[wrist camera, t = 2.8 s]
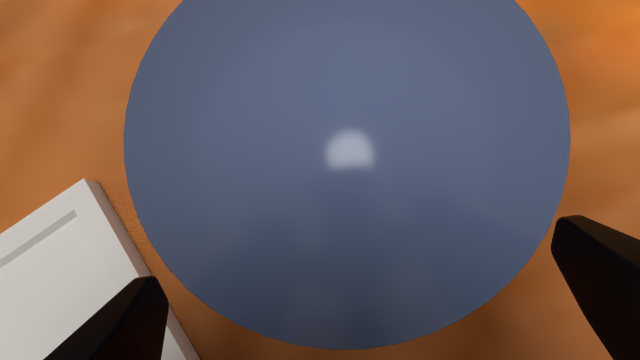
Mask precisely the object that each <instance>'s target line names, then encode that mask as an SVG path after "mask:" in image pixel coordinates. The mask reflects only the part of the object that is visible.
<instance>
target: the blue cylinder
mask: <svg viewBox="0 0 640 360" xmlns="http://www.w3.org/2000/svg"><path fill="white" fill-rule="evenodd" d="M570 143H571V142H570V122H569V111H568V106H567V101H566V96H565V91H564V86H563V83H562V80H561V77H560V74H559V72H558V69H557V66H556V63H555V60H554V58H553V56H552V54H551V52H550V50H549V48H548V47H547V45H546V43H545V41H544V39H543V37H542V35H541V34H540V32H539V31H538V29H537V28H536V27H535V25H534V24H533V22H532V21H531V19H530V18H529V16H528V15H527V14H526V13H525V11H524V10H523V9H522V8H521V7H520V6H519V5H518V4H517V3H516V2H515V0H183V1H182V2H181V3H180V4H179V5H178V7H177V8H176V9H175V10H174V11H173V12H172V13H171V14H170V16H169V17H168V18H167V19H166V21H165V22H164V24H163V25H162V27H161V28H160V29H159V31H158V32H157V34H156V35H155V37H154V38H153V40H152V42H151V44H150V46H149V47H148V49H147V51H146V53H145V55H144V57H143V59H142V61H141V63H140V66H139V68H138V71H137V74H136V76H135V79H134V82H133V84H132V88H131V92H130V97H129V101H128V105H127V109H126V118H125V127H124V163H125V169H126V175H127V181H128V186H129V191H130V194H131V197H132V200H133V204H134V207H135V210H136V213H137V216H138V218H139V220H140V222H141V224H142V226H143V228H144V231H145V233H146V235H147V237H148V239H149V241H150V243H151V244H152V246H153V247H154V249H155V250H156V251H157V253H158V254H159V256H160V257H161V259H162V260H163V262H164V263H165V265H166V266H167V267H168V268H169V270H170V271H171V272H172V273H173V274H174V275H175V276H176V277H177V278H178V279H179V281H180V282H181V283H182V284H183V285H184V286H185V287H186V288H187V289H188V290H189V291H190V292H192V293H193V294H194V295H195V296H197V297H198V298H199V299H200V300H201V301H203V302H204V303H205V304H206V305H207V306H209V307H210V308H211V309H213V310H215V311H216V312H218V313H220V314H221V315H223V316H224V317H226V318H228V319H229V320H231V321H233V322H234V323H236V324H238V325H240V326H242V327H245V328H247V329H249V330H252V331H254V332H256V333H259V334H261V335H263V336H266V337H269V338H272V339H276V340H280V341H283V342H287V343H291V344H294V345H298V346H306V347H314V348H322V349H330V350H342V349H369V348H375V347H381V346H388V345H394V344H399V343H403V342H406V341H409V340H412V339H416V338H419V337H422V336H425V335H429V334H431V333H433V332H435V331H438V330H440V329H442V328H444V327H446V326H448V325H450V324H452V323H455V322H457V321H459V320H461V319H462V318H464V317H465V316H467V315H468V314H470V313H471V312H473V311H474V310H476V309H477V308H479V307H480V306H482V305H483V304H485V303H486V302H488V301H489V300H490V299H491V298H492V297H494V296H495V295H496V294H497V293H498V292H499V291H500V290H501V289H502V288H504V287H505V286H506V285H507V284H508V283H509V282H510V281H511V280H512V279H513V278H514V277H515V276H516V275H517V273H518V272H519V271H520V270H521V269H522V267H523V266H524V265H525V264H526V263H527V261H528V260H529V259H530V258H531V257H532V255H533V254H534V252H535V250H536V249H537V247H538V245H539V244H540V242H541V240H542V239H543V237H544V236H545V234H546V232H547V231H548V229H549V227H550V224H551V222H552V219H553V217H554V215H555V212H556V210H557V207H558V205H559V203H560V200H561V196H562V192H563V188H564V184H565V180H566V176H567V172H568V163H569V153H570Z"/></svg>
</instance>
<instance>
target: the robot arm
mask: <svg viewBox="0 0 640 360" xmlns="http://www.w3.org/2000/svg"><path fill="white" fill-rule="evenodd" d="M551 252H552V255H553V258H554V260H555V261H556V263H557V265H558V267H559V269H560V271H561V273H562V275H563V277H564V278H565V280H566V282H567V284H568V286H569V288H570V290H571V292H572V293H573V295H574V297H575V299H576V301H577V303H578V305H579V307H580V309H581V310H582V312H583V314H584V316H585V317H586V319H587V321H588V322H589V324H590V325H591V327H592V328H593V330H594V331H595V333H596V334H597V336H598V337H599V339H600V340H601V342H602V343H603V345H604V346H605V348H606V349H607V351H608V352H609V354H610V355H611V357H612V358H613V360H640V240H639V239H636V238H634V237H631V236H629V235H627V234H624V233H622V232H620V231H617V230H615V229H612V228H610V227H608V226H605V225H603V224H600V223H598V222H596V221H593V220H591V219H589V218H586V217H584V216H581V215H572V216H565V217H561V218H559V219H558V220H557V222H556V226H555V230H554V234H553V238H552V243H551ZM168 312H169V303H168V299H167V297H166V295H165V293H164V291H163V289H162V287H161V285H160V284H159V282H158V280H157V278H156V277H155V276H151V275H150V276H143V277H137V278H135V279H133V280H132V281H131V282H130V283H128V284H127V285H126V286H125V287H124V288H123V289H122V290H121V291H119V292H118V293H117V294H116V295H115V296H114V297H113V298H112V299H110V300H109V301H108V302H107V303H106V304H105V305H104V306H103V307H102V308H100V309H99V310H98V311H97V312H96V313H95V314H94V315H93V316H91V317H90V318H89V319H88V320H87V321H86V322H85V323H84V324H82V325H81V326H80V327H79V328H78V329H77V330H76V331H75V332H73V333H72V334H71V335H70V336H69V337H68V338H67V339H66V340H64V341H63V342H62V343H61V344H60V345H59V346H58V347H57V348H55V349H54V350H53V351H52V352H51V353H50V354H49V355H48V356H47V357H45V358H44V359H43V360H161V357H162V350H163V344H164V337H165V331H166V325H167V318H168Z"/></svg>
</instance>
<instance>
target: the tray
mask: <svg viewBox="0 0 640 360" xmlns="http://www.w3.org/2000/svg"><path fill="white" fill-rule="evenodd" d="M150 275H151V276H152V274H151V273H150V271H149V269H148V267H147V266H146V264H145V262H144V260H143V259H142V257H141V255H140V254H139V252H138V250H137V248H136V247H135V245H134V243H133V241H132V240H131V238H130V236H129V234H128V233H127V231H126V229H125V227H124V226H123V224H122V222H121V220H120V219H119V217H118V215H117V213H116V212H115V210H114V208H113V207H112V205H111V203H110V201H109V200H108V198H107V196H106V194H105V193H104V191H103V189H102V187H101V186H100V184H99V183H96V182H93V181H90V180H88V179H85V178H83V179H82V180H80V181H79V182H77V183H76V184H74V185H73V186H71V187H70V188H68V189H67V190H65V191H64V192H62V193H61V194H59V195H58V196H56V197H55V198H53V199H52V200H50V201H49V202H47V203H46V204H44V205H43V206H41V207H40V208H38V209H37V210H36V211H34V212H33V213H31V214H30V215H28V216H27V217H25V218H24V219H22V220H21V221H19V222H18V223H16V224H15V225H13V226H12V227H10V228H9V229H7V230H6V231H4V232H3V233H1V234H0V360H43V359H44V358H45V357H47V356H48V355H49V354H50V353H51V352H52V351H53V350H54V349H55V348H57V347H58V346H59V345H60V344H61V343H62V342H63V341H64V340H66V339H67V338H68V337H69V336H70V335H71V334H72V333H73V332H75V331H76V330H77V329H78V328H79V327H80V326H81V325H82V324H84V323H85V322H86V321H87V320H88V319H89V318H90V317H91V316H93V315H94V314H95V313H96V312H97V311H98V310H99V309H100V308H102V307H103V306H104V305H105V304H106V303H107V302H108V301H109V300H110V299H112V298H113V297H114V296H115V295H116V294H117V293H118V292H119V291H121V290H122V289H123V288H124V287H125V286H126V285H127V284H128V283H130V282H131V281H132V280H133V279H135V278H137V277H143V276H150ZM161 360H200V358H199V356H198V355H197V353H196V351H195V349H194V348H193V346H192V344H191V342H190V341H189V339H188V337H187V335H186V334H185V332H184V330H183V328H182V327H181V325H180V323H179V321H178V320H177V318H176V316H175V314H174V313H173V311H172V309H171V307H170V306H169V312H168V318H167V325H166V331H165V337H164V344H163V350H162V357H161Z"/></svg>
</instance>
